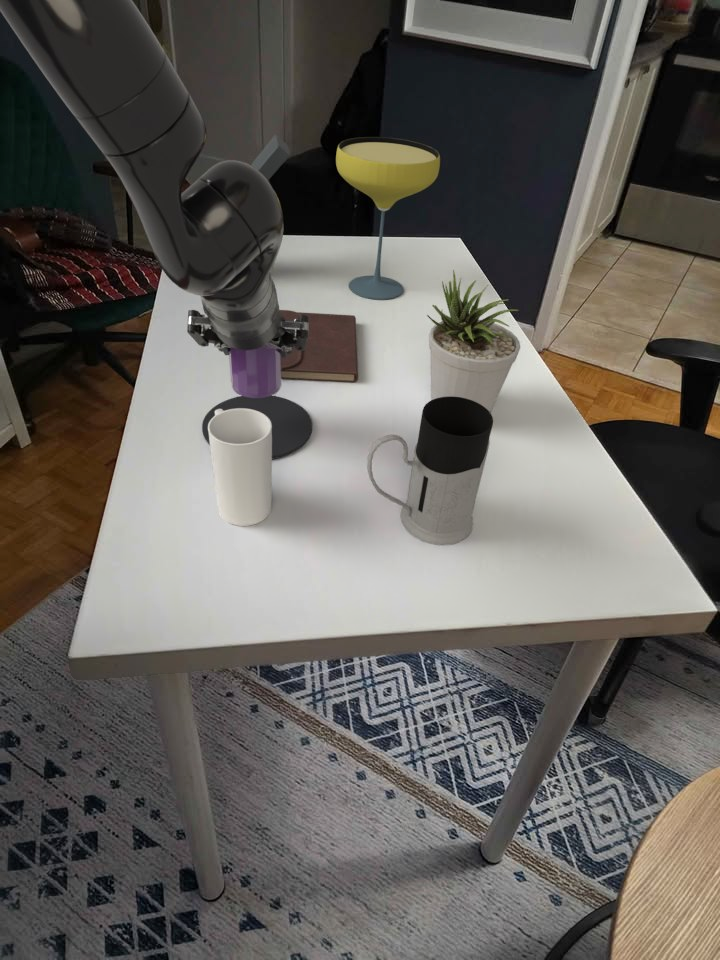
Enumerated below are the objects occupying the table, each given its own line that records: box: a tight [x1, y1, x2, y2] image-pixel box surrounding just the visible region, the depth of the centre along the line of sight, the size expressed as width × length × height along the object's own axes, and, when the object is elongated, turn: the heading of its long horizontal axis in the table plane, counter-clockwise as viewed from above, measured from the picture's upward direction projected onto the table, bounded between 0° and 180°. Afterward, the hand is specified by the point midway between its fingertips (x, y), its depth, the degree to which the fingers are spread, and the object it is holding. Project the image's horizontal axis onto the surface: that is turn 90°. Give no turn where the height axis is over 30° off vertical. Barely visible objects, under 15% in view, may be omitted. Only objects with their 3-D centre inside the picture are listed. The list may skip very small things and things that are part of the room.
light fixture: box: [250, 134, 291, 181], centre depth 121 cm, size 11×17×24 cm, turn 99°
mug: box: [208, 408, 273, 527], centre depth 74 cm, size 10×7×12 cm, turn 35°
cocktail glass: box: [335, 136, 441, 301], centre depth 119 cm, size 18×18×25 cm
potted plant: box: [426, 269, 521, 413], centre depth 90 cm, size 13×14×20 cm
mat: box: [201, 395, 313, 460], centre depth 89 cm, size 15×15×1 cm
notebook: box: [279, 309, 359, 383], centre depth 106 cm, size 15×20×2 cm
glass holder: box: [366, 396, 494, 546], centre depth 72 cm, size 9×14×15 cm, turn 111°
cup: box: [228, 346, 283, 398], centre depth 82 cm, size 6×6×9 cm
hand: (256, 348), depth 83 cm, fingers closed on cup, 6 cm apart
